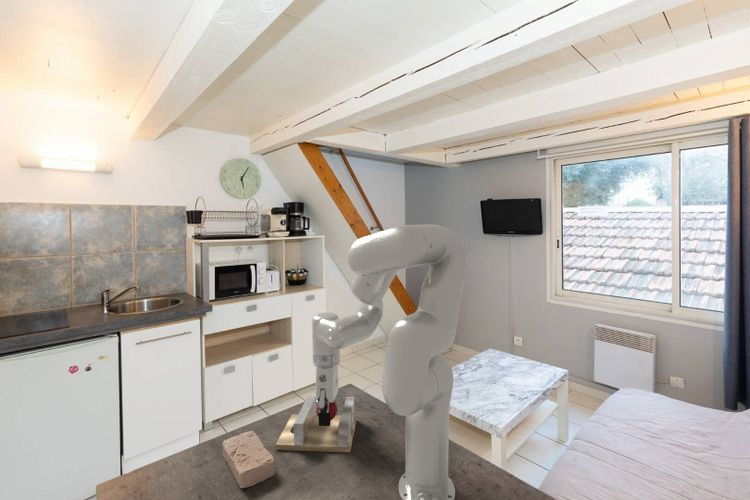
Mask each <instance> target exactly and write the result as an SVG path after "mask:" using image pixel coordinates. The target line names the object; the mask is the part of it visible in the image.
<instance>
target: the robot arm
mask: <svg viewBox="0 0 750 500" xmlns="http://www.w3.org/2000/svg"><path fill="white" fill-rule="evenodd" d="M467 253H468V252H467V249H466V247H465V245H464V243H463V241H462V238H460V237H459V236H458V235H457V234H456V233H455V232H454V231H453V230H451V229H450V228H448V227H446V226H443V225H440V224H434V223H433V224H432V223H431V224H430V223H429V224H427V223H426V224H403V225H396V226H393V227H390V228H387V229H383V230H381V231H378V232H375V233H372V234H368V235H365V236H362V237H359V238H358V239H356V240H355V241H354V242H353V243H352V244H351V246H350V248H349V251H348V255H347V261H348V267H349V268H350V270H351V271H352V273H354V274H355V276H354V278H353V280H352V282H351V284H350V289H351V292H352V294H353V296H355V298H356V299H357V300H359V301H360V302H361V305H360V307H359V309H358V311H357V312H356V313H355V314H352V315H348V316H346V317H342V318H340V317H339V315H338V314H336V313H334V312H320V313H317V314H315V315H314V316H313V317H312V320H311V325H312V327H311V328H312V329H311V331H312V334H311V335H312V339H311V340H312V365H313V366H314V367H315V396H316V403H318V404H319V426H330V424H331V417H330V411H329V407H330V402H331V403H333V402H335V403H336V397H337V395H338V391H339V388H340V385H339V382H340V381H339V367H338V365H339V364H340V362H341V361H340V360H341V359H340V355H341V354H340V350H343V349H346V348H349V347H352V346H353V345H355V344H358V343H361V342H364V341H366V340H367V339H369V338H370V337H371V336H372V335H373V334H374V332H375V331H376V329H377V328H378V326H379V324H380V322H381V320H382V318H383V315H384V302H383V298H384V297H385V294H386V292H388V289H389V287H390V286H391V284H392V283H393V280H394V279H395V278H396V277H395V276H396V275H397V273H398V271H399V270H404V269H409V268H415V267H419V266H426V265H428V266H429V267H428V268H429V269H428V272H427V274H426V275H425V277H424V280H423V282H422V284H421V285H422V286H421V288H420V297H419V302H418V306H417V309H416V311H415V312H414V313H411V314H408V315H406V316H404V317H402V318H400V319H399V320H397V321H396V322H395V324H394V325H393V326H392V329H391V330H390V332H389V335H388V340H387V345H386V351H385V359H384V366H383V375H382V381H381V386H382V387H381V389H382V394H383V395H382V396H383V399H384V401H385V403H386V405H387V407H388V409H390V410H391V411H392V412H393V413H394V414H396V415H397V416H398V415H399V416H402V417H405V429H404V430H405V431H404V432H405V434H404V435H405V450H404V453H405V455H404V456H405V457H404V458H405V459H404V460H405V462H404V463H405V465H404V467H405V469H404V471H405V472H404V473H403V474H402V475H401V477H400V479H399V481H398V494H399V497H400V499H401V500H455V498H456V488H455V485H454V482H453V480H452V479H451V478H450V477H449V443H450V442H449V441H450V440H449V439H450V438H449V435H450V434H449V431H450V409H451V407H450V406H451V399H452V394H453V388H454V372H453V368H452V366H451V363H450V362H449V361H448V359H447V358H446V357H445V355H442V354H443V353H444V352H445V351H447V350H448V349H450V348H451V347H452V345H453V344H454V341H455V338H456V334H457V328H458V322H459V318H460V317H459V316H460V310H461V305H462V298H463V297H462V296H463V292H464V288H465V287H464V286H465V283H466V278H467V272H468V254H467ZM325 398H327V400H325ZM325 403H327V407H326V406H325Z"/></svg>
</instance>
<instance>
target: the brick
mask: <svg viewBox="0 0 750 500" xmlns="http://www.w3.org/2000/svg"><path fill="white" fill-rule="evenodd" d="M221 445H222V453H223V454H222V455H223V458H224V460H225V462H227V464H228V467H229V468H230V471H231V473H232V475H233V477H234V479H235V481H236V483H237V484H238V486H239V488H240V489H245V488H246V489H247V488H249V487H254V486H255V485H257V484H259V483H262V482H264V481H265V480H268V479H269V478H270V479H271V477H274V476H275V472H276V471H275V470H276V469H275V468H276V467H275V459H274V456H273V454H271V452H270V451H268V450H267V448H266V447H265V445H264V444H263V442H262V441H261V439H260V438H259V436H258V435H257V433H255V431H252V430H250V431H246V432H245V431H244V432H242V433H241V434H238V435H237V434H235V436H232V437H229V438H227V439H224V440H223V442H222V444H221Z"/></svg>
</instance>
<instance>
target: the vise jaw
mask: <svg viewBox="0 0 750 500" xmlns="http://www.w3.org/2000/svg"><path fill="white" fill-rule="evenodd" d="M297 414H298V416H297V418H296V420H295V422H294V424H293V426H292V428H291V430H290V432H291V433H294V445H304V442H305V440H306V438H307V435H308V433H309V430H310V428H311V426H312V423H313V421H314V418H315V416H316V415H317V401H316V395H307V396H306V398H305V401H304V402H303V405H302V406H301V408H300V411H299V413H297Z"/></svg>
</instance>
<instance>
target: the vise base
mask: <svg viewBox="0 0 750 500" xmlns="http://www.w3.org/2000/svg"><path fill="white" fill-rule="evenodd" d="M355 400H356V399H355V396H346V397H345V400H344V405H343V408H342V411H341V414H340V415H337V414H336V416H335V418H333V419H332V420H331V424H330V426H319V417H318V416H317V414H316V416H315V418H314V421H313V423H312V426H311V428H310V430H309V433H308V435H307V438H306V440H305V442H304V445H294V433H291V432H290V430H291V428H292V426H293V424H294V422H295V420H296V418H297V416H298V414H299V413H297V414H296V413H292V414H291V415H290V418H289V419H288V421H287V423H286V425H285V426H284V428H283V431H281V434H280V435H279V437H278V439H277V441H276V443H275V451H293V452H294V451H295V452H296V451H297V452H298V451H299V452H329V453H351V450H352V444H353V440H354V435H355V430H356V425H357V415H356V407H355V406H356V405H355V403H356V401H355Z"/></svg>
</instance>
